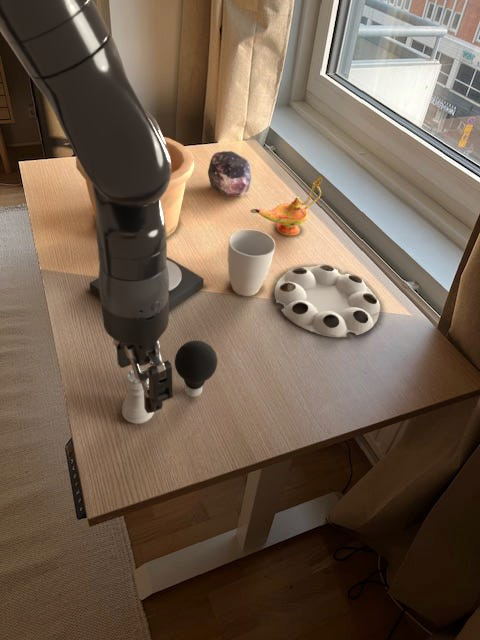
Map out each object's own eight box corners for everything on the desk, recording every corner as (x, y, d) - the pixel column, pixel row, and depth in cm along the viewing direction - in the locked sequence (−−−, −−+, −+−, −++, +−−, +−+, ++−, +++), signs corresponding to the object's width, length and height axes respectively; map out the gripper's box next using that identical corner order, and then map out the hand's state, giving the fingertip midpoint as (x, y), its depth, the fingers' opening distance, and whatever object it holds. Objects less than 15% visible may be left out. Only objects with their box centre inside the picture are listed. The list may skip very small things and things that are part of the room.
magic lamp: (238, 231, 109) (244, 183, 102) (304, 214, 117) (315, 169, 110) (255, 248, 105) (263, 200, 98) (323, 229, 113) (335, 184, 106)
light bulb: (168, 383, 77) (170, 335, 70) (206, 375, 79) (211, 328, 72) (179, 414, 73) (182, 367, 66) (218, 405, 75) (225, 358, 68)
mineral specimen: (252, 175, 124) (257, 145, 115) (245, 210, 120) (249, 182, 111) (212, 167, 124) (213, 137, 115) (203, 202, 120) (204, 173, 111)
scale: (143, 328, 85) (143, 315, 83) (90, 291, 90) (88, 279, 88) (203, 287, 94) (204, 274, 92) (151, 256, 99) (151, 244, 97)
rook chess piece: (143, 394, 75) (142, 357, 70) (160, 415, 73) (161, 378, 67) (115, 409, 73) (112, 371, 67) (132, 431, 70) (131, 394, 65)
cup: (274, 297, 94) (283, 252, 88) (232, 304, 92) (239, 259, 85) (256, 270, 100) (264, 226, 93) (217, 277, 97) (221, 232, 90)
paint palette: (252, 289, 95) (254, 280, 94) (324, 256, 106) (326, 248, 104) (330, 353, 85) (332, 345, 84) (400, 310, 96) (404, 302, 94)
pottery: (62, 212, 107) (53, 145, 97) (151, 185, 119) (151, 123, 109) (119, 265, 96) (115, 196, 86) (211, 230, 108) (217, 166, 98)
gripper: (79, 266, 60) (92, 360, 71) (129, 345, 52) (135, 437, 63) (139, 250, 64) (143, 342, 75) (195, 322, 55) (190, 413, 66)
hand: (139, 386), depth 69 cm, fingers open, 8 cm apart
